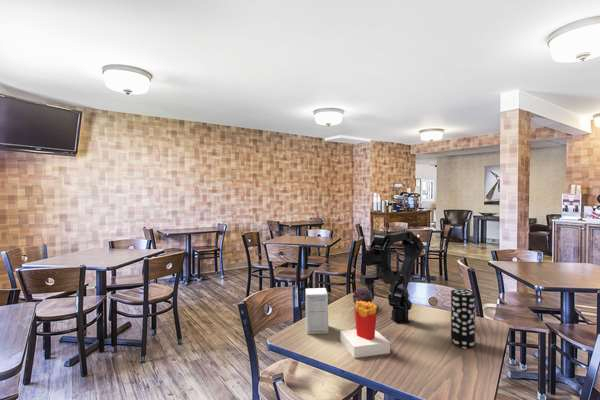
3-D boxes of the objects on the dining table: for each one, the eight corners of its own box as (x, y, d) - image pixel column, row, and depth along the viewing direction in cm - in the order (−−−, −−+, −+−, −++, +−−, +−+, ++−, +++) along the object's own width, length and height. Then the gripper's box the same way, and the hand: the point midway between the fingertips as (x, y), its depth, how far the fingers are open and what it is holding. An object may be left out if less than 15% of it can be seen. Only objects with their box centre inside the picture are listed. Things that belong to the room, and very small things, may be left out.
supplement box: (326, 325, 147) (326, 287, 147) (329, 333, 138) (328, 293, 137) (305, 325, 147) (305, 287, 146) (306, 334, 138) (305, 294, 137)
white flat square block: (372, 337, 134) (372, 327, 134) (389, 353, 121) (389, 342, 120) (340, 340, 131) (340, 331, 131) (354, 357, 117) (354, 346, 117)
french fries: (352, 334, 128) (352, 301, 127) (359, 331, 131) (359, 298, 130) (373, 342, 121) (372, 306, 121) (379, 338, 124) (379, 304, 124)
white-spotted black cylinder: (472, 340, 130) (473, 290, 130) (476, 350, 122) (476, 296, 122) (449, 337, 133) (449, 288, 133) (452, 347, 125) (452, 294, 125)
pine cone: (371, 315, 158) (371, 294, 158) (350, 313, 160) (350, 293, 160) (373, 303, 175) (373, 285, 175) (354, 302, 178) (354, 283, 177)
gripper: (370, 268, 132) (370, 306, 133) (412, 265, 137) (412, 302, 137) (359, 262, 143) (359, 298, 143) (398, 260, 147) (398, 294, 148)
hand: (382, 298), depth 143 cm, fingers open, 9 cm apart
